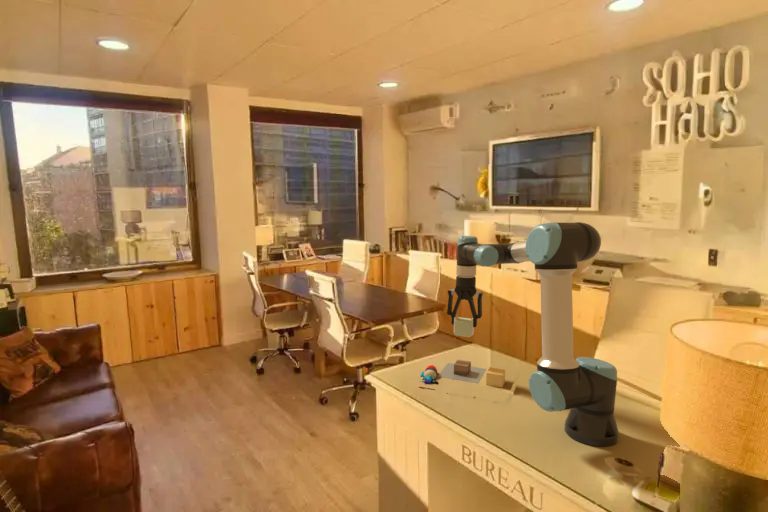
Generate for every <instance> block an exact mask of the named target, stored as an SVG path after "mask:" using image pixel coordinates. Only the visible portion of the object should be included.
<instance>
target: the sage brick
mask: <svg viewBox="0 0 768 512" xmlns="http://www.w3.org/2000/svg"><path fill="white" fill-rule="evenodd" d="M471 319H472V318H469V317H459V316H458V318H457V319H456V320H455V334H454V336H457V337H462V338H463V337H464V338H470V337H471V336H470V335H471Z"/></svg>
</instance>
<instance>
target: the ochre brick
mask: <svg viewBox="0 0 768 512" xmlns="http://www.w3.org/2000/svg"><path fill="white" fill-rule="evenodd" d="M486 371H487V372H486V376H485V377H486V378H485V380H486V381H485V382H486V383H485V385H486V386H491V387H497V388H504V385H505V383H506V371H507V370H506V369H501V368H495V367H489V368H488V370H486Z"/></svg>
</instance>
